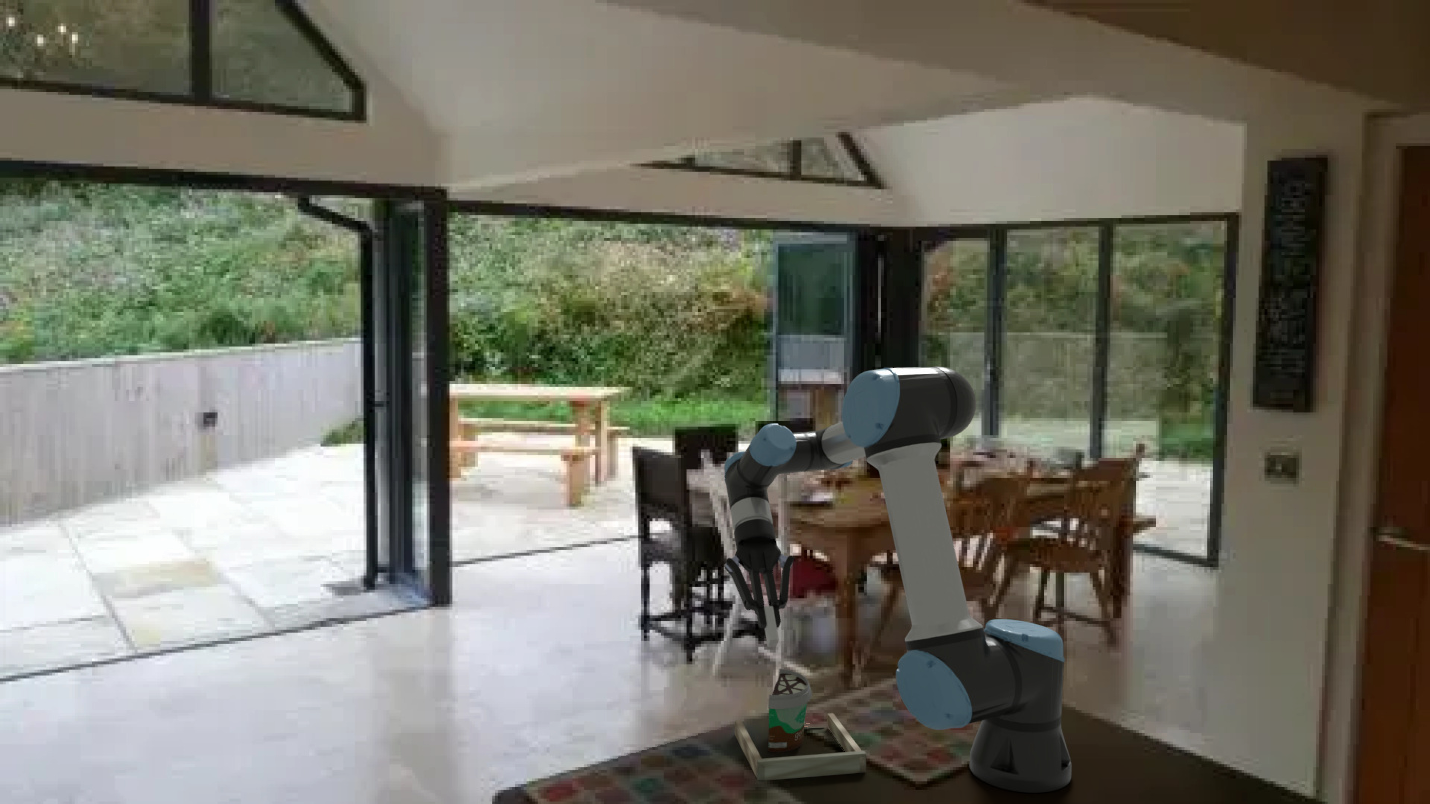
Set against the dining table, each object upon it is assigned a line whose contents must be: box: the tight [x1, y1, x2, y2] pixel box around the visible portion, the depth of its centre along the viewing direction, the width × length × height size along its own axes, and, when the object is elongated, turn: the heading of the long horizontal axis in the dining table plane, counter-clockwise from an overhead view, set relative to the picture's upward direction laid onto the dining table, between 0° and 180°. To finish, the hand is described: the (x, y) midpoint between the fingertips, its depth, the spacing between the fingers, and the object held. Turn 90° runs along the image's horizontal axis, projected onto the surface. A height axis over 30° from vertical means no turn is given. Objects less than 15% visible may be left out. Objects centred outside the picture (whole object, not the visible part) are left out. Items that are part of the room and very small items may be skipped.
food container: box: [767, 668, 813, 753], centre depth 180 cm, size 12×6×10 cm, turn 168°
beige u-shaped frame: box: [734, 712, 867, 781], centre depth 176 cm, size 18×17×3 cm
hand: (773, 643), depth 190 cm, fingers closed
